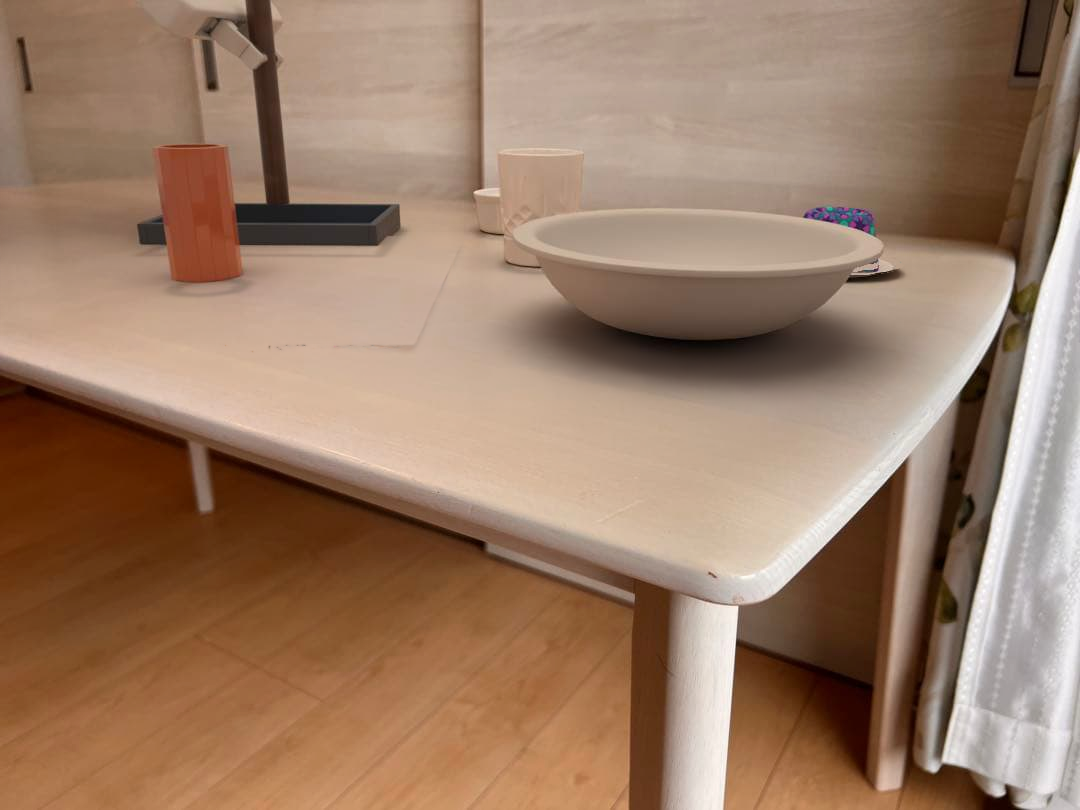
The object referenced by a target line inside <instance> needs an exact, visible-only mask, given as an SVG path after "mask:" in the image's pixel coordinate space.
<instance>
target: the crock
mask: <svg viewBox="0 0 1080 810" xmlns="http://www.w3.org/2000/svg"><path fill="white" fill-rule="evenodd" d="M151 149H152V152H153V153H152V154H153V155H152V156H153V161H154V169H155V175H156V182H157V188H158V195H159V202H160V208H161V215H162V216H163V223H164V230H165V237H166V243H167V245H166V250H167V257H168V263H169V269H170V277H171V279H172V280H173V281H176V282H181V283H195V284H196V283H197V284H199V283H214V282H223V281H228V280H233V279H236V278H239V277H241V276H243V273H244V271H243V261H242V253H241V245H240V244H239V236H238V227H237V219H236V210H235V203H236V202H235V193H234V185H233V177H232V169H231V168H232V167H231V161H230V160H231V159H230V152H229V146H228V145H227V144H224V143H205V142H204V143H200V142H199V143H192V142H191V143H169V144H167V143H166V144H158V145H153V146H152V147H151Z"/></svg>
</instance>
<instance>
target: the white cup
mask: <svg viewBox="0 0 1080 810" xmlns="http://www.w3.org/2000/svg"><path fill="white" fill-rule="evenodd" d="M584 158H585V152H584V151H582V150H579V149H578V150H577V149H570V148H569V149H567V148H546V147H543V148H540V147H538V148H536V147H535V148H533V147H531V148H529V147H528V148H526V147H525V148H507V149H500V150H498V151H497V166H498V188H499V189H500V207H501V213H502V217H501V222H502V229H503V233H504V234H503V258H504V260H505V261H506V262H508V264H512V265H516V266H522V267H538V268H539V267H540V268H541V266H540V265H539V263H538V260H537V258H536V256H535V255H533V254H530V253H528V252H526V251H524V250H522V249H520V248H519V247H517V246H516V245H515V244H514V242H513V239H512V234H513V231H514V230H515V229H516V228H517V227H518V226H520V225H522V224H524V223H527V222H530V221H533V220H536V219H540V218H544V217H549V216H554V215H560V214H567V213H575V212H581V203H582V191H583V190H582V188H583V172H584Z"/></svg>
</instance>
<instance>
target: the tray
mask: <svg viewBox="0 0 1080 810" xmlns="http://www.w3.org/2000/svg"><path fill="white" fill-rule="evenodd" d="M235 210H236V219H237V227H238V236H239V244H240V246H317V247H318V246H321V247H324V246H327V247H329V246H333V247H334V246H337V247H339V246H340V247H341V246H342V247H378V246H379V245H380V244H381V243H382V242H383V241H384V240H385V239H386V237H393V236H394V234H395V233H396V232H397V231H398V230H399V229H400V228H401V225H402V224H401V207H400V203H298V202H297V203H295V202H294V203H291V202H290V203H288V204H282V205H270V204H267V203H266V202H265V203H263V202H235ZM136 227H137V234H138V239H139V244H140V246H141V245H145V246H146V245H150V246H153V245H155V246H157V245H158V246H159V245H162V246H167V243H166V237H165V230H164V223H163V216H162V214H159V215H158V216H155V217H152V218H150V219H146V220H143V221H141V222H138V223H136Z"/></svg>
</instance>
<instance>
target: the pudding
mask: <svg viewBox="0 0 1080 810" xmlns="http://www.w3.org/2000/svg"><path fill="white" fill-rule="evenodd" d="M802 218H807V219H814V220H819V221H825V222H830V223H835V224H839V225H843V226H847V227H851V228H854V229H857V230H860V231H863V232H866V233H868V234H870V235H872V236H874V237H876V238H877V234H876V226H875V225H876V224H875V218H874V215H873V214H872V212H870V210H865V209H860V208H855V207H844V206H819V207H814V208H810V209H808V210H807V211H806V212H805V213H804V215H803V217H802ZM877 262H879V265H878V268H877V269H874V270H862V271H858V272H852V273H876V272H886V271H889V270H891V269H892V268H893V265H891V264H890V263H888V262H886V261H883V260H880V259H877V260H876V261H874V262H872V263H870V264H874V263H877ZM870 276H875V274H870V275H850V276H849V278H863V277H870Z"/></svg>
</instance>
